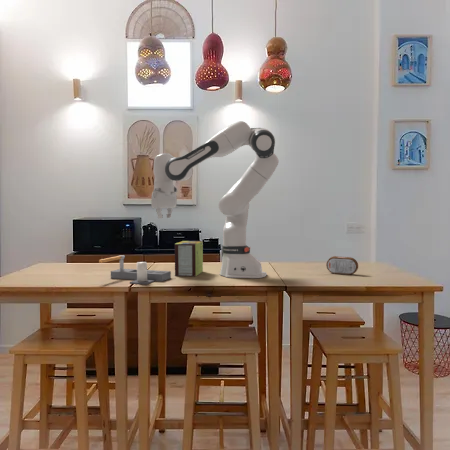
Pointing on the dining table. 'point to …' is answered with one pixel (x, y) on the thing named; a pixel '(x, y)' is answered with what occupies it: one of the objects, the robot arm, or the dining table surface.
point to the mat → (142, 282)
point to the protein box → (188, 258)
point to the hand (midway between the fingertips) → (164, 218)
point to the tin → (342, 265)
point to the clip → (111, 259)
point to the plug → (141, 271)
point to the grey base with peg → (132, 274)
